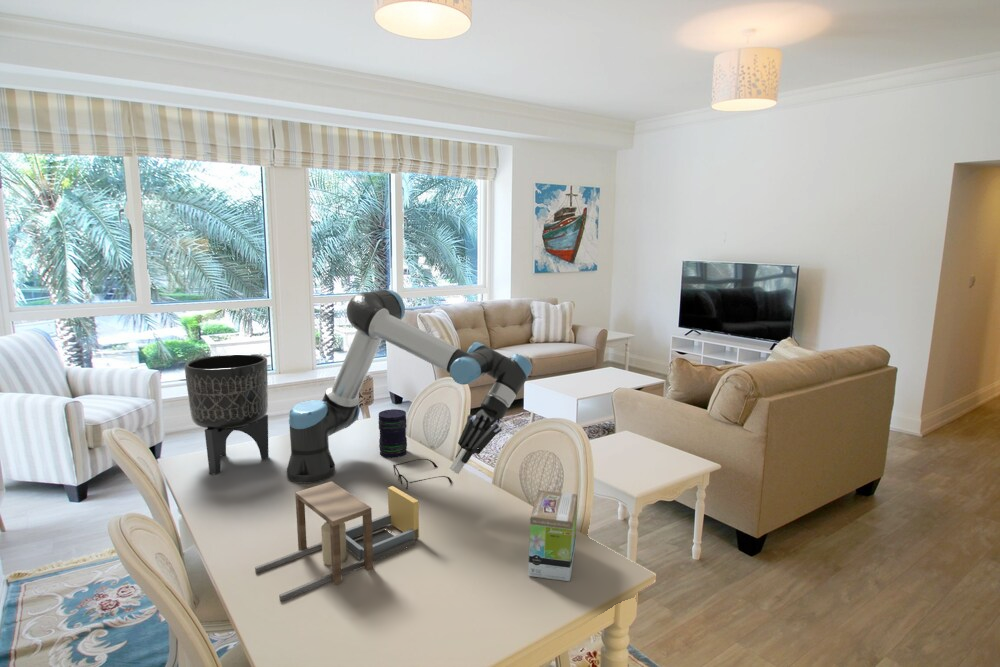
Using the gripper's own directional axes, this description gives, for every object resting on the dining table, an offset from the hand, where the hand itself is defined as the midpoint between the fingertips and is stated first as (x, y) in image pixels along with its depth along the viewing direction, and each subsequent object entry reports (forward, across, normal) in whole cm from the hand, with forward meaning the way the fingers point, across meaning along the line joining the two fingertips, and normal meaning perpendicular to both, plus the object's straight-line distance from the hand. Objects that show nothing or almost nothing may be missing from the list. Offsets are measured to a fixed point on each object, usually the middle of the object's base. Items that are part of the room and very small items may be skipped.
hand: (454, 471), depth 158 cm
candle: (+34, +1, +17) cm, 38 cm away
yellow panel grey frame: (+25, +1, +9) cm, 27 cm away
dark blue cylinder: (0, +51, -18) cm, 54 cm away
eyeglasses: (+4, +26, -14) cm, 30 cm away
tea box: (+8, -35, -10) cm, 38 cm away
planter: (+32, +81, +14) cm, 88 cm away
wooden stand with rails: (+34, +1, +17) cm, 38 cm away
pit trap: (+26, +1, +9) cm, 28 cm away
